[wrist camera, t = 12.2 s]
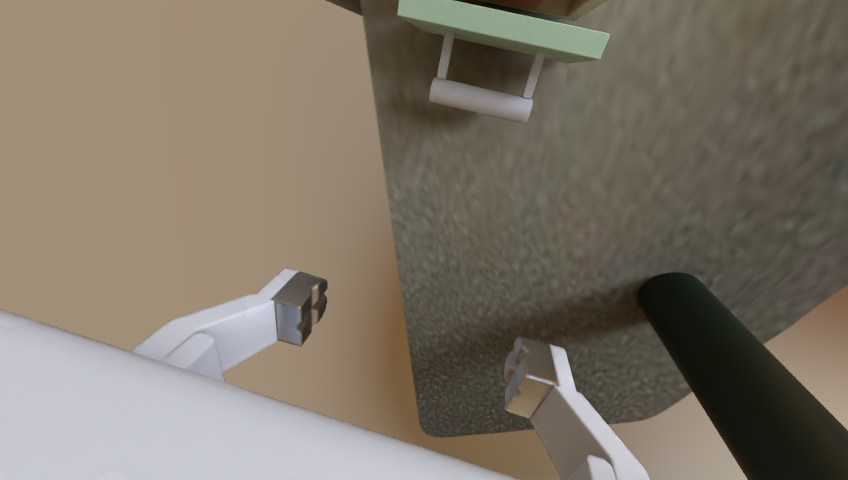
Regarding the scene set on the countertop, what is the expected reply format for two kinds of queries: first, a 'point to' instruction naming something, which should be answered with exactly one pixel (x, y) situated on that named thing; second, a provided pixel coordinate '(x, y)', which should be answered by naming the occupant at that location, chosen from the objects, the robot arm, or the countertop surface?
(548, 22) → the drawer
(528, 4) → the block
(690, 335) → the wine bottle
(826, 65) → the countertop surface
